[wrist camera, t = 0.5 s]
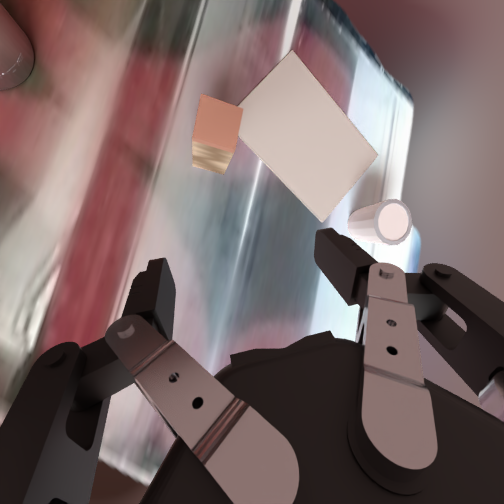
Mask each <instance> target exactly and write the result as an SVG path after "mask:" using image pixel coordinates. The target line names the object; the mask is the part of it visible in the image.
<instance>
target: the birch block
mask: <svg viewBox="0 0 504 504" xmlns="http://www.w3.org/2000/svg"><path fill="white" fill-rule="evenodd" d="M242 114H243V108H240V107H237V106H235V105H232V104H229V103H226V102H223V101H221V100H218V99H215V98H212V97H209V96H207V95H204V94H201V97H200V102H199V107H198V112H197V117H196V122H195V127H194V131H193V136H192V147H193V166H195V167H198V168H202V169H205V170H209V171H212V172H216V173H220V174H223V175H224V173H225V171H226V169H227V166H228V164H229V162H230V160H231V158H232V156H233V154H234V151H235V148H236V143H237V138H238V133H239V128H240V124H241V119H242Z"/></svg>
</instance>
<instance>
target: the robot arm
mask: <svg viewBox="0 0 504 504" xmlns="http://www.w3.org/2000/svg"><path fill="white" fill-rule="evenodd" d="M33 63H34V52H33V49H32V45H31V43H30V41H29V39H28V37H27V36H26V34H25V33H24V32H23V30H22V29H21V28H20V27H19V25H18V24H17V23H16V22H15V20H14V19H13V18H12V17H11V16H10V14H9V13H8V12H7V11H6V9H5V8H4V7H3V6H2V4H1V3H0V90H5V89H10V88H13V87H15V86H18V85H19V84H21V83H22V82H24V81H25V79H26V78H27V77H28V76H29V74H30V72H31V70H32V68H33ZM314 258H315V262H316V264H317V265H318V267H319V268H320V269H321V271H322V272H323V273H324V275H325V276H326V277H327V278H328V280H329V281H330V282H331V284H332V285H333V286H334V288H335V289H336V290H337V291H338V293H339V294H340V295H341V297H342V298H343V299H344V300H345V302H346V303H347V304H348V306H350V305H355V304H358V305H359V306H360V308H359V314H358V322H357V330H356V339H355V342H354V341H351V340H347V339H341V338H334V336H333V335H332V333H331V331H326V332H322V333H318V334H314V335H309V336H306V337H304V338H302V339H301V340H299V341H297V342H295V343H293V344H291V345H289V346H288V347H286V348H281V349H253V350H249V351H244V352H240V353H236V354H232V355H230V358H231V364H229V365H227V366H226V367H224V368H223V369H221V370H220V371H219V372H218V373H217V374H216V375H215V376H214V377H213V376H212V375H211V374H210V373H209V372H208V371H207V370H205V369H204V368H203V367H202V366H201V365H200V364H199V363H198V362H197V361H196V360H195V359H194V358H192V357H191V356H190V355H189V354H188V353H187V352H186V351H185V350H184V349H183V348H182V347H180V346H179V345H178V344H177V343H176V342H175V341H173V340H172V335H173V322H174V309H175V296H176V289H175V283H174V280H173V277H172V274H171V271H170V268H169V265H168V262H167V260H166V258H159V259H154V260H149V262H148V266H147V270H146V271H143V272H140V273H139V274H138V275H137V276H136V277H135V278H134V279H133V282H132V285H131V289H130V292H129V295H128V298H127V301H126V304H125V307H124V311H123V314H122V317H121V318H120V319H118V320H117V321H115V322H114V323H113V324H112V325H111V326H110V327H109V328H108V329H107V331H106V333H105V337H103V338H101V339H99V340H97V341H95V342H92V343H90V344H88V345H86V346H84V347H82V348H80V347H79V345H78V344H77V343H75V342H65V343H61V344H58V345H56V346H54V347H52V348H51V349H49V350H47V351H46V352H45V353H44V354H42V355H41V356H40V357H39V358H38V359H37V361H36V362H35V363H34V365H33V366H32V368H31V370H30V372H29V374H28V376H27V378H26V380H25V382H24V383H23V385H22V387H21V389H20V391H19V393H18V395H17V397H16V399H15V400H14V402H13V404H12V406H11V408H10V410H9V412H8V414H7V416H6V417H5V419H4V421H3V423H2V425H1V427H0V504H89V499H90V495H91V489H92V485H93V480H94V475H95V471H96V465H97V461H98V456H99V452H100V447H101V442H102V437H103V432H104V428H105V423H106V418H107V413H108V408H109V404H110V399H111V395H113V394H115V393H117V392H119V391H120V390H122V389H124V388H126V387H128V386H129V385H131V384H133V383H135V385H136V386H137V387H138V389H139V390H140V391H141V393H142V394H143V395H144V396H145V398H146V399H147V400H148V402H149V403H150V404H151V406H152V407H153V408H154V410H155V411H156V412H157V414H158V415H159V416H160V418H161V419H162V421H163V422H164V423H165V425H166V426H167V428H168V429H169V430H170V432H171V433H172V434H173V436H174V437H175V438H176V439H175V441H174V443H173V445H172V447H171V448H170V450H169V452H168V454H167V455H166V457H165V459H164V461H163V462H162V464H161V466H160V468H159V469H158V471H157V473H156V475H155V477H154V478H153V480H152V482H151V484H150V485H149V487H148V489H147V491H146V492H145V494H144V496H143V498H142V500H141V501H140V503H139V504H504V302H503V301H501V300H499V299H498V298H497V297H495V296H494V295H492V294H491V293H490V292H488V291H487V290H485V289H484V288H482V287H481V286H479V285H478V284H476V283H475V282H474V281H472V280H471V279H469V278H468V277H466V276H465V275H463V274H462V273H460V272H459V271H458V270H456V269H454V268H452V267H450V266H447V265H443V264H437V263H432V264H427V265H425V266H424V268H423V270H422V273H404V272H403V270H401V269H400V268H399V267H397V266H395V265H392V264H389V263H378V262H377V261H376V260H375V259H374V258H373V257H371V256H370V255H369V254H368V253H367V252H366V251H364V250H363V249H362V248H361V247H360V246H359V245H357V244H356V243H355V242H354V241H353V240H352V239H350V238H348V237H346V236H344V235H339V234H338V233H337V232H336V231H335V230H334V229H333V228H326V229H321V230H317V231H316V237H315V249H314ZM448 307H450V308H451V309H452V310H453V311H454V312H456V313H457V314H458V315H459V316H460V317H461V318H462V319H463V320H464V321H465V323H466V325H467V331H466V332H465V331H464V330H463V329H462V328H461V327H459V326H458V325H457V324H456V323H455V322H454V321H453V320H452V319H451V318H450V317H448V316H447V315H446V314H445V313H446V311H447V309H448ZM417 330H418V331H419V332H420V333H421V334H422V335H423V336H424V337H425V339H426V340H427V341H428V342H429V343H430V344H431V345H432V346H433V347H434V348H435V350H436V351H437V352H438V353H439V354H440V355H441V356H442V357H443V358H444V359H445V361H446V362H447V363H448V364H449V365H450V366H451V367H452V368H453V369H454V370H455V372H456V373H457V374H458V375H459V376H460V377H461V378H462V379H463V380H464V382H465V383H466V384H467V385H468V386H469V387H470V388H471V389H472V390H473V391H474V393H475V394H476V395H477V396H478V397H479V402H480V404H481V406H482V408H483V409H481V408H479V407H477V406H475V405H473V404H472V403H469V402H468V401H466V400H464V399H462V398H460V397H459V396H457V395H455V394H453V393H451V392H449V391H447V390H445V389H443V388H442V387H440V386H438V385H436V384H434V383H432V382H431V381H429V380H427V379H425V378H423V370H422V363H421V355H420V348H419V339H418V331H417Z"/></svg>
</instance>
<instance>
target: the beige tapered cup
mask: <svg viewBox="0 0 504 504" xmlns="http://www.w3.org/2000/svg"><path fill="white" fill-rule="evenodd" d="M411 226H412V217H411V214H410V211H409V208H408V207H407V206H406V205H405V204H404V203H403V202H401V201H399V200H397V199H389V200H386V201H383V202H379V203H376V204H373V205H370V206H367V207H364V208H361V209H358V210H356V211H354V212H353V213H352V214H351V215H350V217H349V220H348V231H349V233H350V235H351V236H352V237H353V238H354V239H356V240H358V241H363V242H371V243H378V244H385V245H398V244H399V243H401V242H403V241H404V240H405V239H406V238H407V236H408V235H409V233H410V230H411Z"/></svg>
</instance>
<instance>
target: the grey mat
mask: <svg viewBox="0 0 504 504" xmlns="http://www.w3.org/2000/svg"><path fill="white" fill-rule="evenodd" d="M237 107H240V108H243V114H242V119H241V124H240V128H239V133H238V136H239V138H240V139H241V140H242V141H243V142H244V143H245V144H246V145H247V146H248V147H249V148H250V149H251V150H252V151H253V152H254V153H255V154H256V155H257V156H258V157H259V158H260V159H261V160H262V161H263V162H264V163H265V164H266V165H267V167H268V168H269V169H270V170H271V171H272V172H273V173H274V174H275V175H276V176H277V177H278V178H279V179H280V180H281V181H282V182H283V183H284V184H285V185H286V186H287V187H288V188H289V189H290V190H291V191H292V192H293V193H294V195H295V196H296V197H297V198H298V199H299V200H300V201H301V202H302V203H303V204H304V205H305V206H306V207H307V208H308V209H309V210H310V211H311V212H312V213H313V214H314V215H315V216H316V217H317V218H318V219H319V220H320V221H321V222H322V223H323V222H324V220H325V219H326V218H327V217H328V215H329V214H330V213H331V212H332V211H333V209H334V208H335V207H336V206H337V205H338V203H339V202H340V201H341V200H342V199H343V197H344V196H345V195H346V194H347V193H348V191H349V190H350V189H351V188H352V187H353V185H354V184H355V183H356V182H357V180H358V179H359V178H360V177H361V176H362V174H363V173H364V172H365V171H366V170H367V168H368V167H369V166H370V165H371V164H372V162H373V161H374V160H375V159H376V158H377V156H378V154H377V153H376V152H375V151H374V149H373V148H372V147H371V146H370V144H369V143H368V142H367V141H366V140H365V138H364V137H363V136H362V135H361V133H360V132H359V131H358V130H357V129H356V127H355V126H354V125H353V124H352V122H351V121H350V120H349V119H348V118H347V116H346V115H345V114H344V113H343V111H342V110H341V109H340V108H339V106H338V105H337V104H336V103H335V102H334V100H333V99H332V98H331V97H330V95H329V94H328V93H327V92H326V91H325V89H324V88H323V87H322V86H321V84H320V83H319V82H318V81H317V80H316V78H315V77H314V76H313V75H312V73H311V72H310V71H309V70H308V69H307V67H306V66H305V65H304V64H303V62H302V61H301V60H300V59H299V58H298V56H297V55H296V54H295V53H294V51H293V50H292V51H291V52H290V53H289V54H288V55H287V56H286V57H285V58H284V59H283V60H282V61H281V62H280V63H279V64H278V65H277V66H276V67H275V68H274V69H273V70H272V71H271V72H270V73H269V74H268V75H267V76H266V77H265V79H264V80H263V81H262V82H261V83H260V84H259V85H258V86H257V87H256V88H255V89H254V90H253V91H252V92H251V93H250V94H249V95H248V96H247V97H246V98H245V99H244V100H243V101H242V102H241V103H240V104H239V105H238V106H237Z"/></svg>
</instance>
